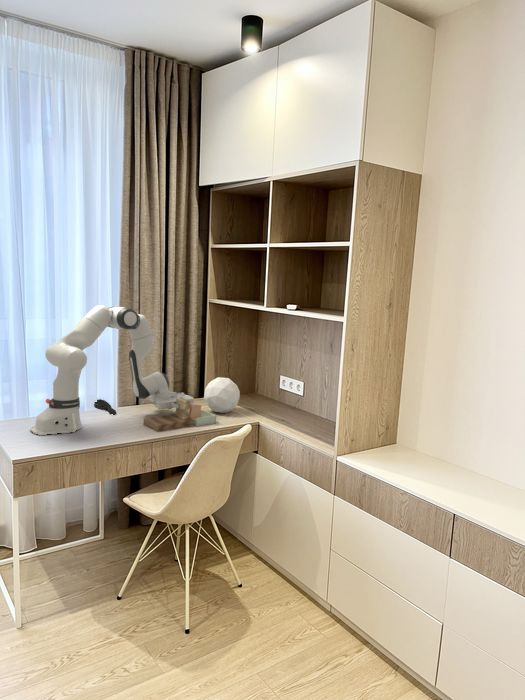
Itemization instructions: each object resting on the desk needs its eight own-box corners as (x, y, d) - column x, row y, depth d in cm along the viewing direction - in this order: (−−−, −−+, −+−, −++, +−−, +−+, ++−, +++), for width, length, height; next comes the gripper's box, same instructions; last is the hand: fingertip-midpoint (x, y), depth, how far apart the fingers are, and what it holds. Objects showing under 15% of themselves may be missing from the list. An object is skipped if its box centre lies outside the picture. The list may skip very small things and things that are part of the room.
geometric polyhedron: (213, 425, 290) (191, 397, 284) (224, 405, 307) (204, 377, 301) (241, 413, 281) (219, 384, 276) (250, 393, 298) (230, 365, 293)
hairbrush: (107, 411, 274) (91, 398, 294) (106, 418, 274) (91, 404, 294) (122, 409, 278) (106, 397, 298) (122, 416, 279) (106, 403, 299)
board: (157, 431, 251) (157, 425, 251) (143, 424, 262) (143, 418, 262) (193, 425, 264) (193, 419, 264) (179, 419, 275) (179, 413, 274)
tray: (195, 426, 263) (196, 418, 263) (178, 418, 276) (178, 410, 276) (216, 423, 271) (216, 415, 270) (197, 415, 284) (198, 407, 283)
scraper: (183, 419, 263) (184, 401, 262) (175, 415, 270) (176, 398, 268) (189, 418, 265) (189, 400, 264) (180, 414, 271) (181, 397, 270)
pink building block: (190, 418, 265) (193, 404, 265) (185, 416, 268) (188, 402, 268) (198, 419, 268) (201, 405, 268) (194, 417, 271) (197, 403, 271)
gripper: (150, 396, 270) (164, 402, 260) (185, 392, 283) (199, 397, 273) (150, 408, 271) (163, 414, 261) (185, 403, 284) (199, 409, 274)
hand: (182, 405), depth 267 cm, fingers closed on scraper, 3 cm apart
